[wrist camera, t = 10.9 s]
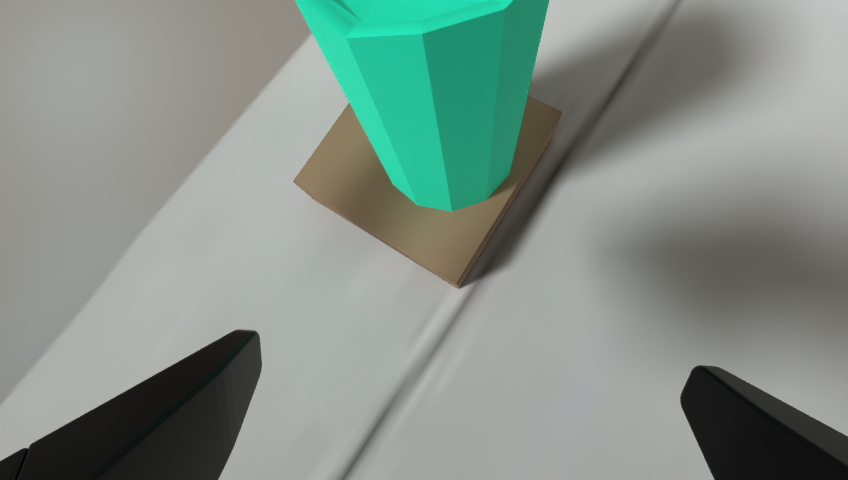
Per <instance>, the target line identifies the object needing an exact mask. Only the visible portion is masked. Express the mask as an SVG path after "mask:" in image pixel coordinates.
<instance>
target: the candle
mask: <svg viewBox="0 0 848 480" xmlns="http://www.w3.org/2000/svg"><path fill="white" fill-rule="evenodd" d="M295 2H296V3H297V5H298V7H299V9H300V11H301V13H302V15H303V17H304V19H305V21H306V22H307V24H308V26H309V28H310V30H311V32H312V34H313V36H314V37H315V39H316V41H317V43H318V45H319V47H320V49H321V51H322V52H323V54H324V56H325V58H326V60H327V62H328V64H329V66H330V67H331V69H332V71H333V73H334V75H335V77H336V79H337V81H338V82H339V84H340V86H341V88H342V90H343V92H344V94H345V96H346V97H347V99H348V101H349V103H350V105H351V107H352V109H353V111H354V112H355V114H356V116H357V118H358V120H359V122H360V124H361V126H362V127H363V129H364V131H365V133H366V135H367V137H368V139H369V141H370V142H371V144H372V146H373V148H374V150H375V152H376V154H377V156H378V157H379V159H380V161H381V163H382V165H383V167H384V169H385V171H386V172H387V174H388V176H389V178H390V180H391V182H392V184H393V185H394V186H395V187H397V188H398V189H399V190H400V191H401V192H402V193H404V194H405V195H406V196H407V197H408V198H410V199H411V200H412V201H413V202H414V203H415V204H417V205H418V206H423V207H429V208H435V209H440V210H446V211H451V212H453V211H456V210H458V209H461V208H464V207H467V206H470V205H473V204H476V203H479V202H482V201H485V200H487V199H488V198H489V196H490V195H491V194H492V193H493V192H494V191H495V190H496V189H497V188H498V187H499V186H500V184H501V183H502V182H503V181H504V180H505V179H506V178H507V177H508V176H509V174H510V170H511V166H512V161H513V157H514V152H515V148H516V144H517V139H518V135H519V130H520V126H521V122H522V117H523V113H524V109H525V104H526V100H527V95H528V91H529V87H530V82H531V78H532V74H533V69H534V65H535V60H536V56H537V52H538V47H539V43H540V38H541V34H542V30H543V25H544V21H545V17H546V12H547V8H548V3H549V0H295Z"/></svg>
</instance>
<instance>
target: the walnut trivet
mask: <svg viewBox="0 0 848 480" xmlns="http://www.w3.org/2000/svg"><path fill="white" fill-rule="evenodd" d="M561 114H562V112H561V111H558V110H556V109H554V108H552V107H550V106H548V105H546V104H544V103H541V102H539V101H537V100H535V99H533V98H531V97H529V96H527V100H526V104H525V109H524V113H523V117H522V122H521V126H520V130H519V135H518V139H517V144H516V148H515V152H514V157H513V161H512V166H511V170H510V174H509V176H508V177H507V178H506V179H505V180H504V181H503V182H502V183H501V184H500V186H499V187H498V188H497V189H496V190H495V191H494V192H493V193H492V194H491V195H490V196H489V198H488V199H487V200H485V201H482V202H479V203H476V204H473V205H470V206H467V207H464V208H461V209H458V210H456V211H453V212H451V211H446V210H440V209H435V208H429V207H423V206H418V205H417V204H415V203H414V202H413V201H412V200H411V199H410V198H408V197H407V196H406V195H405V194H404V193H402V192H401V191H400V190H399V189H398V188H397V187H395V186H394V185H393V184H392V182H391V180H390V178H389V176H388V174H387V172H386V171H385V169H384V167H383V165H382V163H381V161H380V159H379V157H378V156H377V154H376V152H375V150H374V148H373V146H372V144H371V142H370V141H369V139H368V137H367V135H366V133H365V131H364V129H363V127H362V126H361V124H360V122H359V120H358V118H357V116H356V114H355V112H354V111H353V109H352V107H351V105H350V103H349V104H348V105H347V107H346V108H345V109H344V111H343V112H342V114H341V115H340V116H339V118H338V119H337V121H336V122H335V123H334V125H333V126H332V128H331V129H330V130H329V132H328V133H327V135H326V136H325V137H324V139H323V140H322V142H321V143H320V144H319V146H318V147H317V149H316V150H315V151H314V153H313V154H312V156H311V157H310V158H309V160H308V161H307V163H306V164H305V165H304V167H303V168H302V170H301V171H300V172H299V174H298V175H297V177H296V178H295V179H294V181H293V182H294V183H295V184H296V185H297V186H299V187H300V188H301V189H302V190H303V191H305V192H306V193H307V194H308V195H309V196H310V197H312V198H313V199H314V200H316V201H317V202H319V203H321V204H322V205H324V206H325V207H327V208H329V209H330V210H332V211H333V212H335V213H337V214H338V215H340V216H342V217H343V218H345V219H346V220H348V221H350V222H351V223H353V224H354V225H356V226H358V227H359V228H361V229H363V230H364V231H366V232H367V233H369V234H371V235H372V236H374V237H375V238H377V239H379V240H380V241H382V242H384V243H385V244H387V245H388V246H390V247H392V248H393V249H395V250H396V251H398V252H400V253H401V254H403V255H404V256H406V257H408V258H409V259H411V260H413V261H414V262H416V263H417V264H419V265H421V266H422V267H424V268H425V269H427V270H429V271H430V272H432V273H434V274H435V275H437V276H438V277H440V278H442V279H443V280H445V281H446V282H448V283H450V284H451V285H453V286H455V287H456V288H458V289H459V288H460V286H461V285H462V283H463V282H464V280H465V278H466V277H467V275H468V273H469V272H470V270H471V269H472V267H473V265H474V264H475V262H476V260H477V259H478V257H479V256H480V254H481V252H482V251H483V249H484V247H485V246H486V244H487V243H488V241H489V239H490V238H491V236H492V235H493V233H494V231H495V230H496V228H497V226H498V225H499V223H500V222H501V220H502V218H503V217H504V215H505V213H506V212H507V210H508V209H509V207H510V205H511V204H512V202H513V200H514V199H515V197H516V196H517V194H518V192H519V191H520V189H521V187H522V186H523V184H524V183H525V181H526V179H527V178H528V176H529V175H530V173H531V171H532V170H533V168H534V166H535V165H536V163H537V162H538V160H539V158H540V157H541V155H542V153H543V152H544V150H545V149H546V147H547V145H548V144H549V142H550V140H551V139H552V136H553V134H554V131H555V129H556V126H557V124H558V121H559V119H560V116H561Z"/></svg>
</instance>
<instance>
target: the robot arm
mask: <svg viewBox="0 0 848 480" xmlns="http://www.w3.org/2000/svg"><path fill="white" fill-rule="evenodd" d="M261 368H262V360H261V348H260V337H259V334H258V333H257V332H256V331H253V330H235V331H233V332H231V333H229V334H227V335H225V336H224V337H222V338H220V339H218V340H216V341H215V342H213V343H211V344H209V345H208V346H206V347H204V348H202V349H200V350H199V351H197V352H195V353H193V354H191V355H190V356H188V357H186V358H184V359H182V360H181V361H179V362H177V363H175V364H174V365H172V366H170V367H168V368H166V369H165V370H163V371H161V372H159V373H157V374H156V375H154V376H152V377H150V378H148V379H147V380H145V381H143V382H141V383H140V384H138V385H136V386H134V387H132V388H131V389H129V390H127V391H125V392H123V393H122V394H120V395H118V396H116V397H114V398H113V399H111V400H109V401H107V402H106V403H104V404H102V405H100V406H98V407H97V408H95V409H93V410H91V411H89V412H88V413H86V414H84V415H82V416H80V417H79V418H77V419H75V420H73V421H71V422H70V423H68V424H66V425H64V426H63V427H61V428H59V429H57V430H55V431H54V432H52V433H50V434H48V435H46V436H45V437H43V438H41V439H39V440H37V441H36V442H34V443H32V444H31V445H30V446H29V448H28V449H27V448H23V449H21V450H19V451H18V452H16V453H14V454H12V455H10V456H9V457H7V458H5V459H3V460H1V461H0V480H218V479H219V477H220V475H221V473H222V471H223V469H224V467H225V465H226V463H227V460H228V458H229V456H230V454H231V452H232V450H233V447H234V445H235V442H236V439H237V437H238V434H239V431H240V429H241V426H242V423H243V421H244V418H245V415H246V412H247V410H248V407H249V404H250V401H251V399H252V396H253V393H254V390H255V388H256V385H257V382H258V379H259V377H260V373H261ZM680 401H681V406H682V409H683V411H684V413H685V416H686V418H687V420H688V422H689V425H690V427H691V429H692V431H693V433H694V436H695V438H696V440H697V442H698V444H699V447H700V449H701V451H702V453H703V456H704V458H705V460H706V462H707V464H708V467H709V469H710V471H711V473H712V475H713V477H714V479H715V480H848V436H846V435H844V434H842V433H840V432H838V431H836V430H835V429H833V428H831V427H829V426H827V425H825V424H823V423H822V422H820V421H818V420H816V419H814V418H812V417H810V416H809V415H807V414H805V413H803V412H801V411H799V410H797V409H796V408H794V407H792V406H790V405H788V404H786V403H784V402H783V401H781V400H779V399H777V398H775V397H773V396H772V395H770V394H768V393H766V392H764V391H762V390H760V389H759V388H757V387H755V386H753V385H751V384H749V383H747V382H746V381H744V380H742V379H740V378H738V377H736V376H734V375H733V374H731V373H729V372H727V371H725V370H723V369H721V368H719V367H715V366H703V365H699V366H696V367H695V368H693V370H692V371H691V373H690V376H689V378H688V380H687V382H686V384H685V386H684V389H683V391H682V393H681V397H680Z"/></svg>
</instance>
